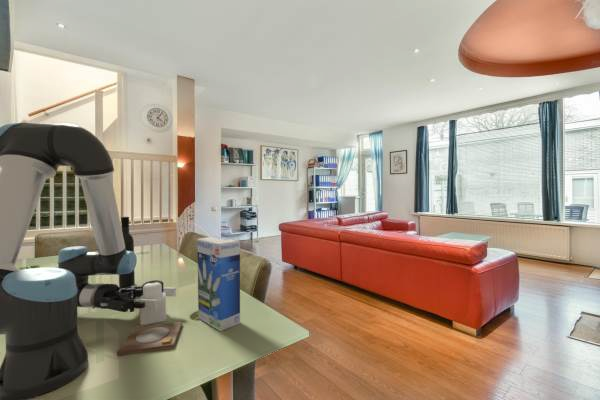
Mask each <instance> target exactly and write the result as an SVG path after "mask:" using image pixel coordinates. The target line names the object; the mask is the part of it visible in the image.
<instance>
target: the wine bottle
mask: <svg viewBox="0 0 600 400" xmlns="http://www.w3.org/2000/svg"><path fill="white" fill-rule="evenodd" d="M120 223H121V228H122V233H123V238H124V243H125V247H126V251H133V252H134V253H135V244H134V237H133V235H132V234H131V233H130V217H129V216H122V217H121V216H120ZM135 275H136V274H135V269H134V270H133V271H132V272H131V273H128V274H120V275H118V287H119V288H120V289H122V288H130V286H132V285H133V286H136V285H135V284H136V283H135V279H136V278H135V277H136V276H135Z"/></svg>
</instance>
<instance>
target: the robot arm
mask: <svg viewBox="0 0 600 400" xmlns="http://www.w3.org/2000/svg"><path fill="white" fill-rule="evenodd" d="M109 153H110V152H109V151H108V150H107V149H106V147H105V146H104V144H103V143H102V141H101V140H100V139H99V138H98V137H97V136H96V135H94V134H93V133H92V132H91V131H90V130H88V129H87V128H84V127H82V126H79V125H76V124H73V123H72V124H71V123H33V122H22V121H21V122H14V123H11V122H10V123H6V124H4V125H1V126H0V169H1V170H0V335H5V337H4V338H5V340H4V341H5V354H4V357H3V360H2V362H1V365H0V400H27V399H31V398H34V397H37V396H38V397H39V396H41V395H44V394H47V393H49V392H52V391H54V390H56V389H59V388H61V387H63V386H64V385H66V384H68V383H70V382H71V381H73V380H75V379H76V378H78V377H79V376H80V375H81V374H82V373H84V371H85V370H86V368H88V365H89V353H88V350H87V348H86V346H85V344H84V342H83V339H82V338H81V336H80V334H79V331H78V330H79V329H78V327H79V325H78V308H89V309H90V308H91V309H96V308H97V309H103V310H105V309H106V310H107V309H108V310H112V311H117V312H121V313H127V312H128V311H129V313H133V312H135V309H136V310H139V309H157V300H156V299H141V296H142V285H134V286H133V285H132V286H130V287H126V288H119V284H118V285H117V284H116V283H101V282H100V283H99V282H97V283H95V282H93V283H91V282H90V283H89V277H90V276H91V277H92V276H109V275H110V276H111V275H114V276H119V275H120V274H128V273H131V272H132V271H133V270H134V271H135V269H136V267H137V262H138V260H137V259H138V257H137V254H136V252H135V251H134V252H133V251H126V247H125V243H124V238H123V233H122V222H121V217H120V215H119V209H118V205H117V198H116V194H115V189H114V184H113V183H114V182H113V180H112V174H113V173H114V172H115V169H114V165H113V160H112V158H111V156H110V154H109ZM65 166H66V167H71V168H72V170H73V171H72V172H73V175H74V176H75V177H77V178H79V180H80V183H81V189H82V192H83V196H84V201H85V204H86V208H87V212H88V215H89V219H90V223H91V227H92V232H93V236H94V239H95V244H96V248H97V251H96V252H94V251H93V252H89V251H88V247H87V246H84V245H83V246H82V245H80V246H79V245H76V246H69V247H64V248H61V249H60V250H59V251H58V259H57V260H58V261H57V265H58V267H48V266H47V267H45V266H44V267H38V268H24V269H20V270H19V268H17V267H16V262H17V259H18V256H19V253H20V251H21V248H22V246H23V243H24V240H25V239H26V238H25V237H26V235H27V233H28V230H29V227H30V224H31V222H32V219H33V216H34V213H35V211H36V207H37V205H38V202H39V200H40V197H41V194H42V192H43V189H44V187H45V183H46V181H47V180H50V179H52V178H54V177H55V176H56V174H57V171H58V169H59V167H65ZM163 287H164V286H163ZM176 290H177V288H176V287H164V292H165V293H166V297H176V295H177V293H176V292H177V291H176Z"/></svg>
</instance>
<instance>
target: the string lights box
mask: <svg viewBox="0 0 600 400" xmlns="http://www.w3.org/2000/svg"><path fill="white" fill-rule="evenodd" d="M197 298H198V299H197V301H198V302H197V305H198V306H197V307H198V308H197V310H198V311H197V312H198V315H197V316H198V319H199V320H201V321H203V322H204V323H206V324H208V325H209V326H210V327H213V328H214V329H216V331H219V332H222V331H225V330H227V329H230V328H232V327H235V326H237V325H240V323H241V241H240V240H234V239H231V238H227V237H220V236H217V235H216V236H209V237H200V238H197Z"/></svg>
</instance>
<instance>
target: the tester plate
mask: <svg viewBox="0 0 600 400" xmlns="http://www.w3.org/2000/svg"><path fill="white" fill-rule="evenodd" d="M182 326H183V322H182V321H177V322H167V323H159V324H158V323H156V324H148V325H143V326H140V325H139V326H134V328H133V329H132V330H131V332H130V333H129V334H128V335H127V337H126V338H125V340H124V341H123V343H122V344H121V345H120V347H119V348H118V350H117V351H116V356H117V357H118V356H125V355H132V354H140V353H148V352H155V351H164V350H169V349H174V347H175V345H176V343H177V340H178V337H179V334H180V332H181V329H182Z"/></svg>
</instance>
